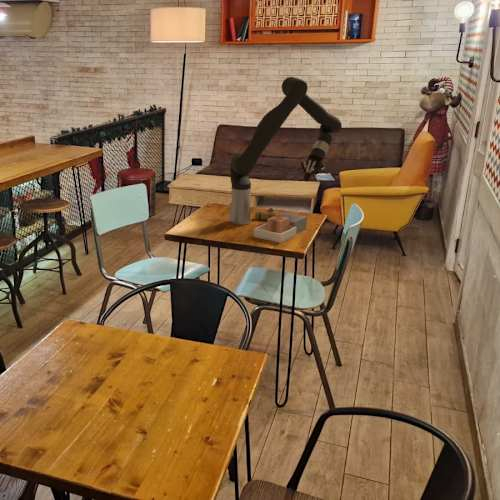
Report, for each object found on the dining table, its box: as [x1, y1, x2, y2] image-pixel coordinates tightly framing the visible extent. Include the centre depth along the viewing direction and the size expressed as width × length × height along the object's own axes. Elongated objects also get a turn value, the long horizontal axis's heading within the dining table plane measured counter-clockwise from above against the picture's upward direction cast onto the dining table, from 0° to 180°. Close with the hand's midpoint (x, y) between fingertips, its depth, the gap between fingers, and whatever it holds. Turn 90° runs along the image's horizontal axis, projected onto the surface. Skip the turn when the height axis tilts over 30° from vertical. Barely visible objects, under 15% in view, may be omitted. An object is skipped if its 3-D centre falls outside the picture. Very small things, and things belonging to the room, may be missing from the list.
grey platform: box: [278, 212, 308, 235], centre depth 224 cm, size 12×12×6 cm
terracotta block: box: [266, 214, 290, 234], centre depth 215 cm, size 7×7×8 cm
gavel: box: [254, 207, 277, 221], centre depth 246 cm, size 21×5×10 cm
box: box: [253, 222, 297, 244], centre depth 214 cm, size 14×14×4 cm
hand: (305, 180), depth 229 cm, fingers closed
